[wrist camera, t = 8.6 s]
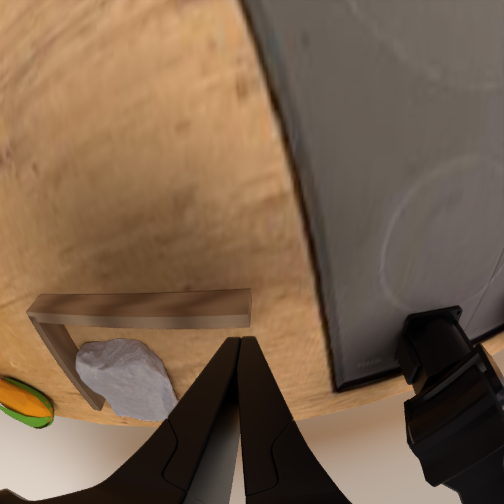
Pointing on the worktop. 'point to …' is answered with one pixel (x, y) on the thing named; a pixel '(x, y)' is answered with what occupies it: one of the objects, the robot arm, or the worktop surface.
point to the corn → (25, 404)
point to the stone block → (127, 378)
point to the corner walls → (131, 319)
